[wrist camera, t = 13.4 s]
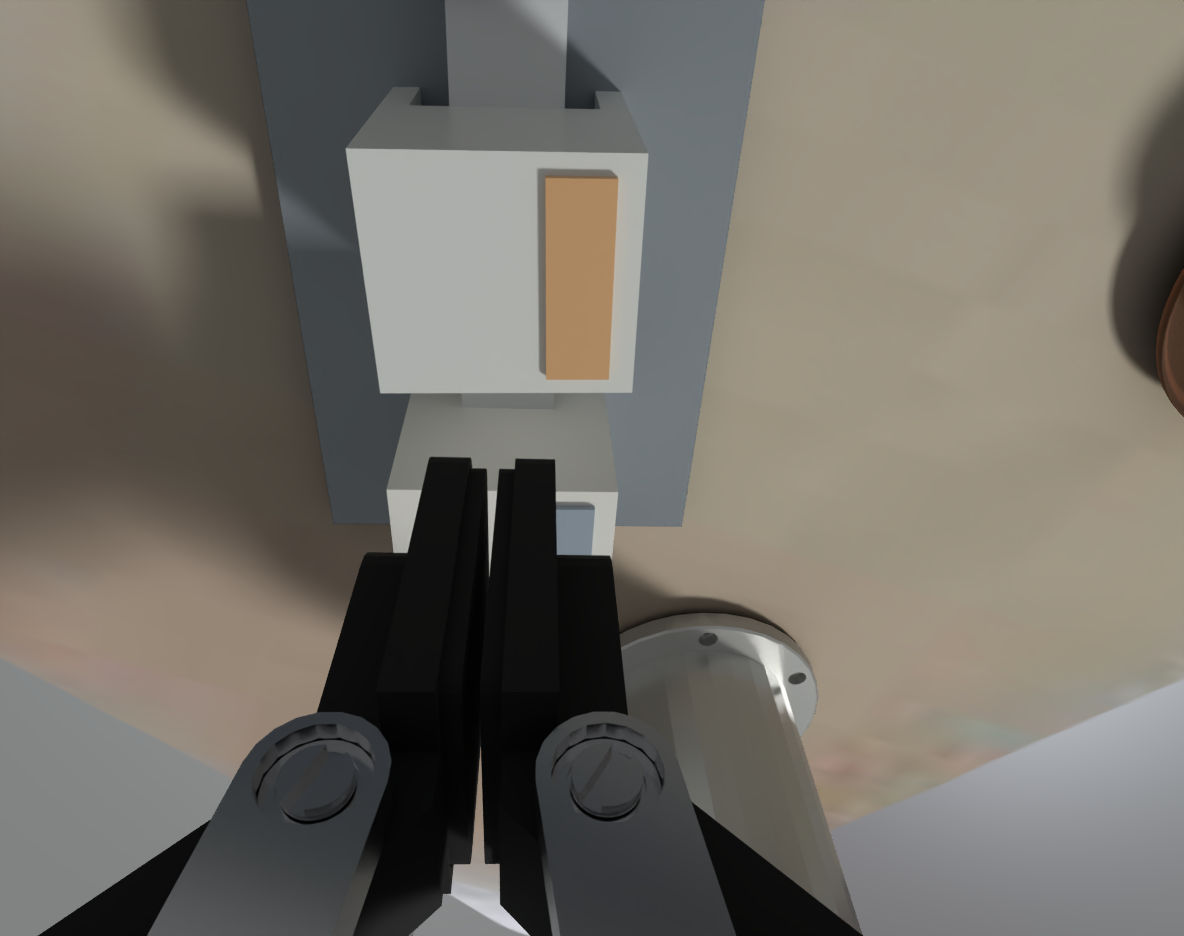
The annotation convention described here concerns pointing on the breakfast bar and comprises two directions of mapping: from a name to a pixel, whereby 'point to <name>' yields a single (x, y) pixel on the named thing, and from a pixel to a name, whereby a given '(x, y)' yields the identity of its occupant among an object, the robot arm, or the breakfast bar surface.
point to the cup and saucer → (1172, 346)
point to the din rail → (677, 221)
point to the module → (500, 244)
